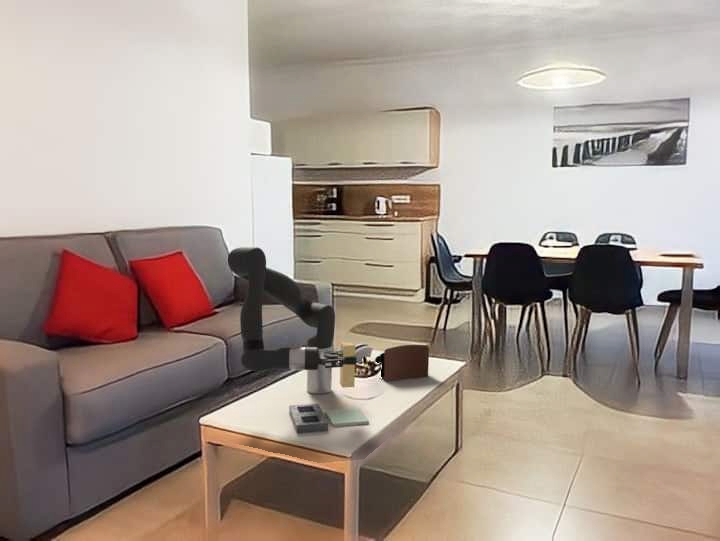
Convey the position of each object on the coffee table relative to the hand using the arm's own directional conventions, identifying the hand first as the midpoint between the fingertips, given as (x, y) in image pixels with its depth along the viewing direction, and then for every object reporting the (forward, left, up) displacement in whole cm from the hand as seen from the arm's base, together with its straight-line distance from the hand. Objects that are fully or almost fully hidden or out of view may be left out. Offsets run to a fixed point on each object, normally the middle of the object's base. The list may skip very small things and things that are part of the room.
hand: (355, 358), depth 204 cm
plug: (0, -3, -9) cm, 9 cm away
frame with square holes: (0, -16, -20) cm, 26 cm away
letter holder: (-42, +30, -21) cm, 56 cm away
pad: (0, -3, -20) cm, 21 cm away
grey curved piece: (-62, +16, -21) cm, 68 cm away
